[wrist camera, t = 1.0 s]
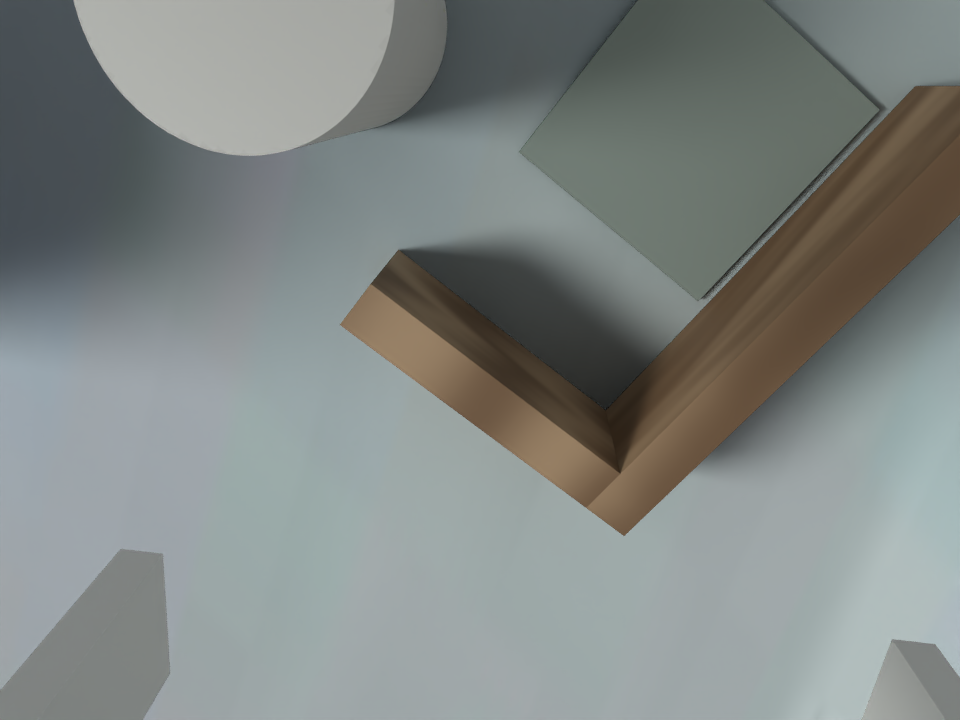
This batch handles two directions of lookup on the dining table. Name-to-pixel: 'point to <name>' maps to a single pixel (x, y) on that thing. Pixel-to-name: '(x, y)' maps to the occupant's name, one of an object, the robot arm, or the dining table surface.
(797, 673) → the dining table surface
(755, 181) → the pad
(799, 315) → the brown wooden l-shaped wall
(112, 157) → the dining table surface
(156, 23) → the cup
